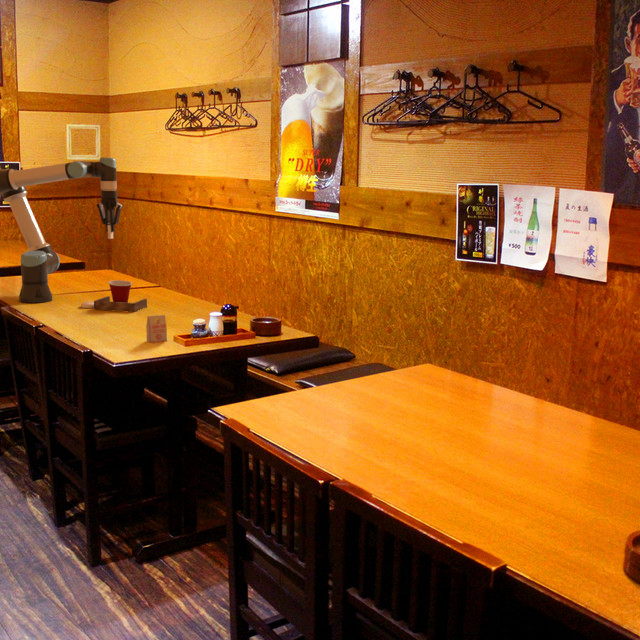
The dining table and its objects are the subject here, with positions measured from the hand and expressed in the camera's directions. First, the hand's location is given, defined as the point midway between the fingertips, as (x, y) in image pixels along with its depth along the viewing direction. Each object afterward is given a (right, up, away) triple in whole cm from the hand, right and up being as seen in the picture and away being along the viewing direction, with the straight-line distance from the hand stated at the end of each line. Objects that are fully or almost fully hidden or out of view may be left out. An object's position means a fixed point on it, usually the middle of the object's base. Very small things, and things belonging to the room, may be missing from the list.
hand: (110, 238), depth 374 cm
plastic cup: (+10, -34, -18) cm, 40 cm away
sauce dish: (-4, -34, -19) cm, 40 cm away
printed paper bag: (+40, -49, -82) cm, 104 cm away
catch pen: (+11, -35, -21) cm, 42 cm away
